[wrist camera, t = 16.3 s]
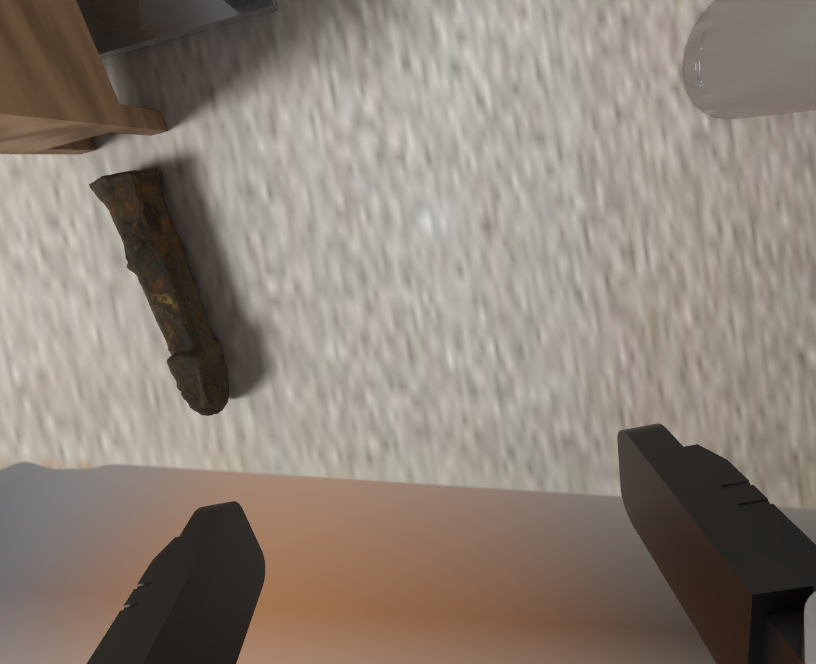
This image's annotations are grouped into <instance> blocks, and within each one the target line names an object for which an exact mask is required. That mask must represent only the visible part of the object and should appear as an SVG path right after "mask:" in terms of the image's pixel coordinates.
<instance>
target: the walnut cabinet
mask: <svg viewBox="0 0 816 664" xmlns="http://www.w3.org/2000/svg"><path fill="white" fill-rule="evenodd" d="M166 131H168V130H167V128H166V125H165V123H164V120H163V118H162V115H161V112H160V111H155V110H149V109H144V108H138V107H132V106H127V105H121V104H119V102H118V100H117V97H116V95H115V92H114V90H113V88H112V85H111V83H110V80H109V78H108V76H107V73H106V71H105V68H104V66H103V64H102V61H101V59H100V56H99V54H98V51H97V49H96V47H95V44H94V42H93V39H92V37H91V35H90V32H89V30H88V27H87V25H86V23H85V20H84V18H83V15H82V13H81V11H80V8H79V6H78V3H77V1H76V0H0V154H83V153H87V152H91V151H94V150H96V149H95V147H94V145H93V142H92V140H91V138H90V137H94V136H97V135H101V134H105V133H109V132H113V133H126V134H139V135H155V134H158V133H162V132H166Z"/></svg>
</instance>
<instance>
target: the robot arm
mask: <svg viewBox="0 0 816 664" xmlns="http://www.w3.org/2000/svg"><path fill="white" fill-rule="evenodd" d="M683 75H684V83H685V86H686V89H687V92H688V95H689V96H690V98H691V99H692V101H693V102H694V104H695V105H696V106H697V107H698V108H699V109H700V110H702V111H703V112H704V113H706V114H708V115H710V116H712V117H716V118H721V119H738V118H747V117H756V116H765V115H775V114H784V113H793V112H801V111H810V110H816V0H716V1H714V2H713V4H712V5H711V6H710V7H709V8H708V9H707V10H706V11H705V12H704V13H703V15H702V16H701V18H700V19H699V20H698V22H697V23H696V25H695V27H694V29H693V31H692V33H691V35H690V37H689V40H688V43H687V46H686V50H685V54H684V62H683ZM618 454H619V468H620V482H621V493H622V498H623V502H624V506H625V509H626V511H627V514H628V516H629V519H630V521H631V523H632V525H633V526H634V528H635V529H636V531H637V533H638V535H639V536H640V538H641V540H642V541H643V543H644V544H645V546H646V548H647V549H648V551H649V553H650V554H651V556H652V558H653V559H654V561H655V563H656V564H657V566H658V568H659V569H660V571H661V573H662V574H663V576H664V578H665V579H666V581H667V583H668V584H669V586H670V588H671V589H672V591H673V593H674V594H675V596H676V598H677V599H678V601H679V602H680V604H681V606H682V607H683V609H684V611H685V612H686V614H687V616H688V617H689V619H690V621H691V622H692V624H693V626H694V627H695V629H696V631H697V632H698V634H699V636H700V637H701V639H702V641H703V642H704V644H705V646H706V647H707V649H708V651H709V652H710V654H711V656H712V657H713V659H714V660H715V662H716V664H816V545H815V544H814V543H813V542H812V541H811V540H810V539H809V538H808V537H807V536H806V535H805V534H804V533H803V532H802V531H801V530H800V529H799V528H798V527H796V525H794V523H793V522H791V521H790V520H789V519H788V518H787V517H786V516H785V515H784V514H783V513H782V512H781V511H780V510H779V509H778V508H777V507H776V506H775V505H774V504H770V503H769V501H768V499H767V498H766V497H765V496H764V495H763V494H762V493H761V492H760V491H759V490H758V489H757V488H756V487H755V486H754V485H750V483H749V480H748V479H747V478H746V477H745V476H743V475H742V474H741V473H740V472H739V471H738V470H737V469H736V468H735V467H734V466H733V465H732V464H731V463H730V462H729V461H728V460H727V459H725V458H723V457H721V456H719V455H717V454H715V453H713V452H711V451H709V450H707V449H705V448H703V447H702V446H700V445H698V444H697V445H691V446H686V447H683V446H682V445H681V444H680V443H679V442H678V440H677V439H676V438H675V437H674V436H673V435H672V434H671V433H670V432H669V431H668V430H667V429H666V428H665V427H664V426H663V425H661V424H653V425H647V426H642V427H637V428H631V429H626V430H620V431H619V433H618ZM264 578H265V560H264V556H263V552H262V550H261V548H260V546H259V544H258V542H257V539H256V537H255V535H254V533H253V531H252V529H251V526H250V524H249V522H248V520H247V518H246V516H245V514H244V511H243V509H242V507H241V506H240V504H239V503H237V502H234V501H233V502H227V503H222V504H216V505H211V506H205V507H201V508H198V509H197V510H196V511H195V512H194V514H193V515H192V517H191V518H190V520H189V522H188V523H187V525H186V527H185V528H184V530H183V531H182V533H181V535H180V536H179V537H175V538H174V539H173V540H172V541H171V542H170V544H168V545H167V546H166V547H165V548H164V549H163V550H162V551H161V552H160V553H159V554H158V555H157V556H156V557H155V558H154V559H153V560H152V562H151V564H150V565H149V567H148V568H147V570H146V571H145V573H144V575H143V576H142V578H141V580H140V581H139V583H138V584H137V585H138V587H137V589H134V590H133V592H132V594H131V595H130V597H129V598H128V600H127V601H126V603H125V605H124V610H123V611H120V612H119V614H118V616H117V617H116V619H115V620H114V622H113V623H112V625H111V626H110V628H109V630H108V631H107V633H106V634H105V636H104V637H103V639H102V641H101V642H100V644H99V645H98V647H97V648H96V650H95V652H94V653H93V655H92V656H91V658H90V659H89V661H88V663H87V664H236V662H237V660H238V657H239V654H240V651H241V648H242V645H243V642H244V639H245V636H246V633H247V630H248V627H249V624H250V621H251V619H252V616H253V613H254V610H255V607H256V604H257V601H258V598H259V595H260V593H261V590H262V587H263V583H264Z"/></svg>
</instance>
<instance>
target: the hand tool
mask: <svg viewBox="0 0 816 664" xmlns="http://www.w3.org/2000/svg"><path fill="white" fill-rule="evenodd" d="M162 176H163V174H162V172H160V171H158V170H157V171H149V170H148V171H127V172H121V173H116V174H112V175H106V176H102V177H100V178H99V179H97V180H96V181H94V182H93V183H91V184H89V185H90V188H91V189H92V190H93V191H94V192H95V194H96V196H97V197H98V198H99V199H100V201H102V202H103V203H104V204H105V206H106V207H107V208H108V210H109V211H110V214H111V216H112V219H113V222H114V224H115V226H116V228H117V230H118V232H119V234H120V236H121V238H122V241H123V244H124V249H125V254H126V259H127V261H128V264H127V268H128V269H129V270H131V271H132V272H134V273H135V274H136V275H137V277H138V279H139V282H140V284H141V286H142V288H143V291H144V293H145V295H146V297H147V299H148V302H149V305H150V307H151V309H152V311H153V314H154V316H155V318H156V321H157V323H158V325H159V327H160V329H161V331H162V333H163V335H164V338H165V340H166V343H167V345H168V350H169V351H170V353H171V355H172V356H171V357H169V358H168V360H167V363H168V366H169V368H170V371H171V373H172V375H173V376H174V378H175V380H176V382H177V388H178V389H179V390H180V391H181V395H182V397H183V398H184V400H186V401H187V403H188V404H189V406H190V408H192V409H193V410H194V411H196V412H198V413H200V414H201V415H207V416H209V415H213V414H218V413H219V412H220V411H222V410H223V409H224V407H225V405H226V404H227V402H228V399H229V398H228V397H229V386H228V377H227V369H226V367H225V362H224V356H223V350H222V346H221V343H220V341H219V340H218V339H216V338H214V337H213V335H212V332H211V330H210V328H209V325H208V322H207V319H206V316H205V313H204V310H203V307H202V304H201V301H200V297H199V293H198V290H197V287H196V285H195V284H194V282H193V279H192V277H191V274H190V271H189V268H188V265H187V262H186V259H185V256H184V252H183V249H182V247H181V244H180V240H179V236H178V235H177V233H176V232H175V229H174V227H173V224H172V222H171V219H170V216H169V214H168V211H167V209H166V206H165V204H164V201H163V198H162V195H161V192H160V180H161V178H162Z"/></svg>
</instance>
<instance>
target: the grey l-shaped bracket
mask: <svg viewBox="0 0 816 664" xmlns="http://www.w3.org/2000/svg"><path fill="white" fill-rule="evenodd" d="M76 1H77V3H78V6H79V8H80V11H81V13H82V15H83V18H84V20H85V23H86V25H87V27H88V30H89V32H90V35H91V37H92V39H93V42H94V44H95V47H96V49H97V51H98V54H99V56H100V59H104V58H107V57H111V56H114V55H118V54H122V53H125V52H129V51H132V50H136V49H139V48H143V47H147V46H150V45H154V44H157V43H161V42H164V41H168V40H172V39H175V38H179V37H182V36H186V35H189V34H193V33H197V32H200V31H204V30H207V29H211V28H214V27H218V26H222V25H225V24H229V23H232V22H236V21H239V20H243V19H247V18H250V17H254V16H257V15H261V14H264V13H268V12H271V11H275V10H278V8H277V5H276V1H275V0H76Z"/></svg>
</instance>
